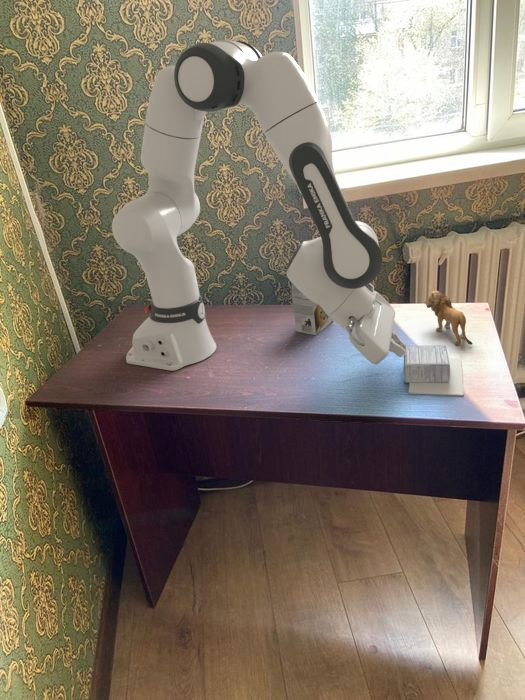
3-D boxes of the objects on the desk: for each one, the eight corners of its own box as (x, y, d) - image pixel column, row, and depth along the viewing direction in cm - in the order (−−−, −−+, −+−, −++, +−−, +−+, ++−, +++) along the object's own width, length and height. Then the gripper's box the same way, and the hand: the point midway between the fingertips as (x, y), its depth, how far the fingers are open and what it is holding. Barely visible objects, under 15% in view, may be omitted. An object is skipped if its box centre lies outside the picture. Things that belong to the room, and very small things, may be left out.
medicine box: (404, 383, 108) (449, 383, 106) (404, 363, 106) (450, 364, 104) (403, 363, 114) (446, 363, 112) (403, 344, 112) (447, 344, 110)
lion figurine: (420, 326, 129) (421, 291, 125) (439, 320, 131) (440, 285, 127) (462, 350, 117) (464, 312, 113) (482, 343, 118) (485, 306, 114)
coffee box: (313, 316, 141) (308, 258, 134) (334, 320, 138) (330, 261, 130) (294, 331, 135) (287, 271, 128) (316, 336, 132) (311, 274, 124)
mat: (408, 393, 105) (408, 392, 105) (412, 358, 117) (412, 356, 116) (463, 396, 102) (463, 394, 102) (460, 359, 114) (461, 358, 113)
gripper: (357, 320, 97) (413, 369, 98) (369, 278, 114) (417, 320, 115) (334, 341, 100) (388, 388, 102) (349, 297, 117) (395, 338, 119)
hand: (403, 351), depth 109 cm, fingers closed
